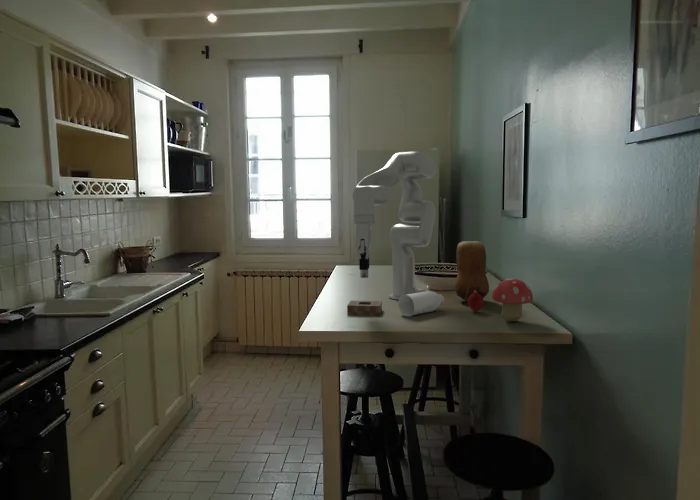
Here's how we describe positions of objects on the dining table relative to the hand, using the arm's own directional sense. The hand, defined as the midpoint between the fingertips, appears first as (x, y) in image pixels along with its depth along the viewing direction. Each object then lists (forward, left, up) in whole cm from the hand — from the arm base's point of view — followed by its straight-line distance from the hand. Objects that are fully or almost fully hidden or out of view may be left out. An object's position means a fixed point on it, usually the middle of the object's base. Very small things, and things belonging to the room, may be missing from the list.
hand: (364, 268), depth 194 cm
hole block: (0, 0, -17) cm, 17 cm away
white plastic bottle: (-21, -2, -17) cm, 27 cm away
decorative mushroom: (-52, +9, -17) cm, 55 cm away
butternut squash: (-41, -24, -17) cm, 50 cm away
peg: (0, 0, -3) cm, 3 cm away
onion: (-41, -5, -17) cm, 45 cm away
